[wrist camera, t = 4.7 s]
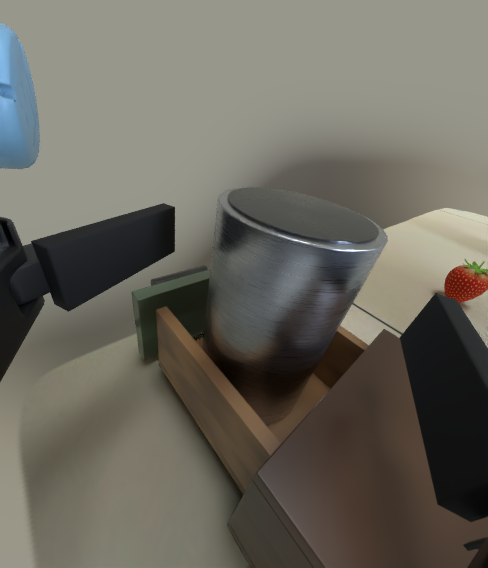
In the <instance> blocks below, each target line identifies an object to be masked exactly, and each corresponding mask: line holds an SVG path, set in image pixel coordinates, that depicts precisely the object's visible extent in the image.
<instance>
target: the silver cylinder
mask: <svg viewBox="0 0 488 568" xmlns="http://www.w3.org/2000/svg"><path fill="white" fill-rule="evenodd" d="M386 243H387V235H386V233H385V232H384V230H383V229H382V228H381V227H379V226H378V225H377V224H375V223H374V222H373V221H371V220H370V219H368V218H366V217H364V216H362V215H361V214H358V213H357V212H354V211H352V210H350V209H348V208H346V207H343V206H341V205H338V204H335V203H333V202H329V201H327V200H323V199H320V198H317V197H313V196H309V195H305V194H301V193H296V192H292V191H286V190H280V189H272V188H259V187H241V188H234V189H229V190H226V191H224V192H222V193H221V194H220V195H219V198H218V204H217V214H216V223H215V232H214V242H213V251H212V260H211V269H210V279H209V288H208V298H207V307H206V316H205V326H204V335H203V345H202V349H203V350H204V352H205V353H206V354H207V355H208V356H209V358H210V359H211V360H212V361H213V362H214V364H215V365H216V366H217V367H218V368H219V370H220V371H221V372H222V373H223V374H224V376H225V377H226V378H227V379H228V380H229V381H230V383H231V384H232V385H233V386H234V387H235V389H236V390H237V391H238V392H239V393H240V395H241V396H242V397H243V398H244V399H245V401H246V402H247V403H248V404H249V405H250V407H251V408H252V409H253V410H254V411H255V412H256V414H257V415H258V416H259V417H260V418H261V420H262V421H263V422H264V423H265V424H266V425H269V424H273V423H275V422H277V421H279V420H281V419H283V418H284V417H285V416H286V415H288V414H289V413H290V411H291V410H292V409H293V407H294V406H295V404H296V402H297V400H298V399H299V397H300V395H301V393H302V391H303V390H304V388H305V386H306V384H307V383H308V381H309V379H310V377H311V376H312V374H313V372H314V370H315V369H316V367H317V365H318V363H319V361H320V360H321V358H322V356H323V354H324V353H325V351H326V349H327V347H328V346H329V344H330V342H331V340H332V339H333V337H334V335H335V333H336V331H337V330H338V328H339V326H340V324H341V323H342V321H343V319H344V317H345V316H346V314H347V312H348V310H349V309H350V307H351V305H352V303H353V301H354V300H355V298H356V296H357V294H358V293H359V291H360V289H361V287H362V286H363V284H364V282H365V280H366V279H367V277H368V275H369V273H370V271H371V270H372V268H373V266H374V264H375V263H376V261H377V259H378V257H379V256H380V254H381V252H382V250H383V249H384V247H385V245H386Z"/></svg>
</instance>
